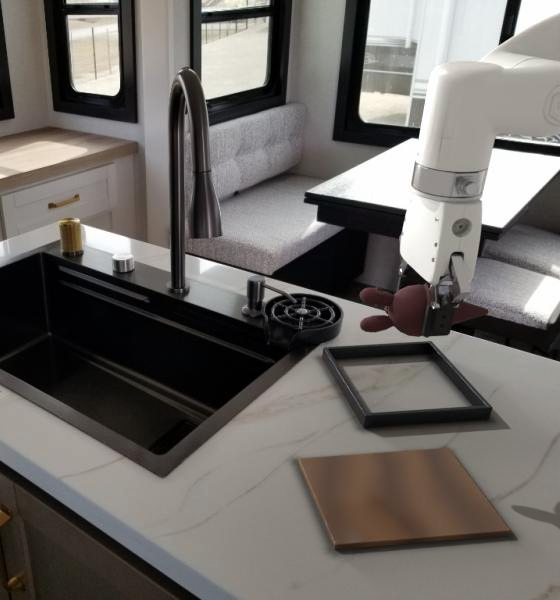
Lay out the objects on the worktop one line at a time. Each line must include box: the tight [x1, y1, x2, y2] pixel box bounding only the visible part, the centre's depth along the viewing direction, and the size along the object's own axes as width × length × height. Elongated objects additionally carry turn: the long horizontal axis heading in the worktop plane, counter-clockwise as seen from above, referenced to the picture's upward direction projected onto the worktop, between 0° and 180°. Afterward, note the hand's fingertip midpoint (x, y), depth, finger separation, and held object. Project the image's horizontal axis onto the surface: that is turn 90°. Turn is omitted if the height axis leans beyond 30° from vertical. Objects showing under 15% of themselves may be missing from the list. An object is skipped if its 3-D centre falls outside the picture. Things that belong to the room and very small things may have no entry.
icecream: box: [359, 282, 489, 339], centre depth 79 cm, size 7×7×15 cm
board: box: [297, 447, 511, 551], centre depth 76 cm, size 20×14×1 cm
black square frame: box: [321, 340, 493, 429], centre depth 96 cm, size 18×18×2 cm
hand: (420, 318), depth 79 cm, fingers closed on icecream, 7 cm apart
